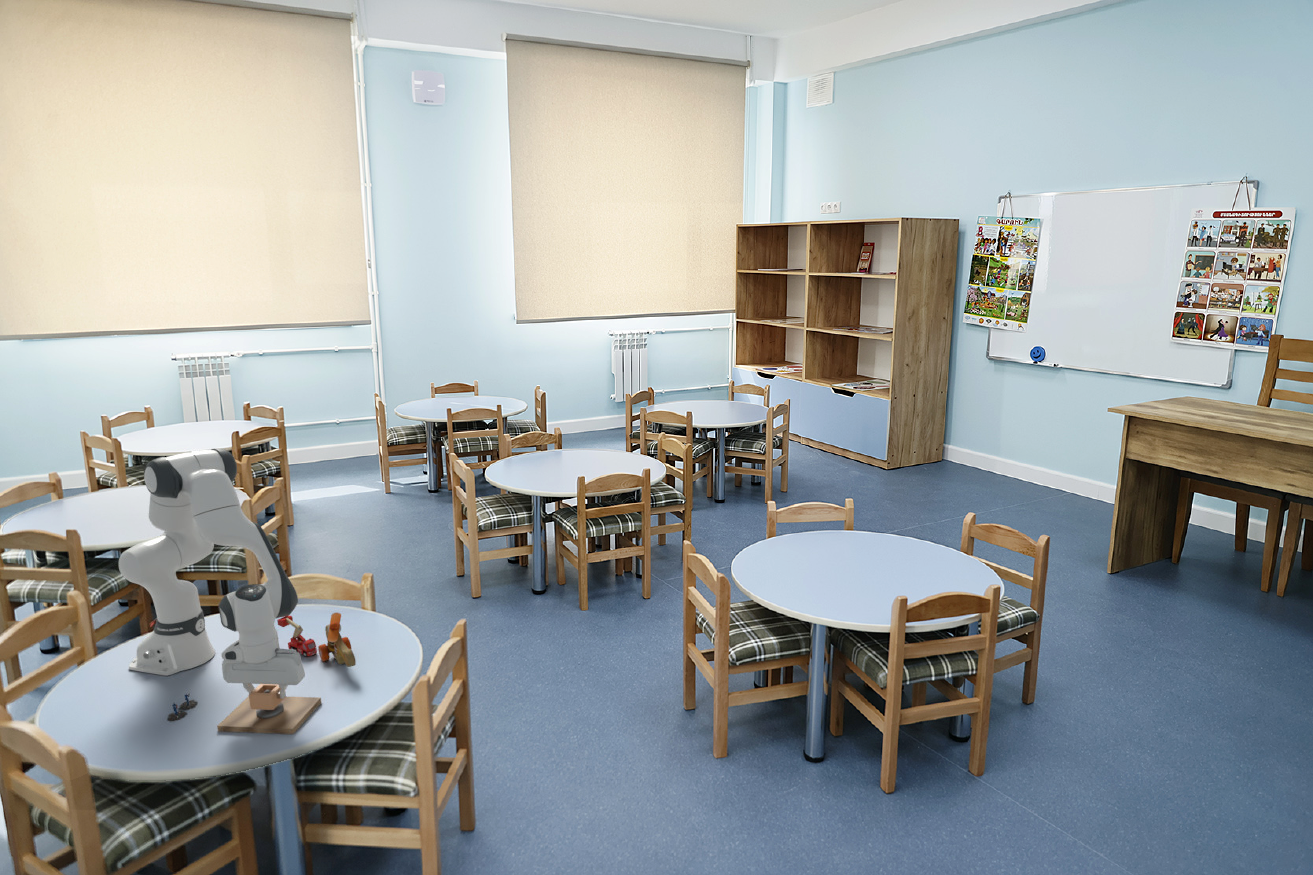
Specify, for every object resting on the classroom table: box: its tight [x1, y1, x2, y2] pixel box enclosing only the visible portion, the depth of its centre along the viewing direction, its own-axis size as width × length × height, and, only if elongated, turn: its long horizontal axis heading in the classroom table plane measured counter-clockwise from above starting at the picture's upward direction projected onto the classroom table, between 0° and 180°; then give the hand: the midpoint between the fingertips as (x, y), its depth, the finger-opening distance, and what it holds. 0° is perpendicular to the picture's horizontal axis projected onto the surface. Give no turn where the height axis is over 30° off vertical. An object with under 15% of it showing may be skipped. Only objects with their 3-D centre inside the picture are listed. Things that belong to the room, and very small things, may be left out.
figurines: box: [166, 692, 198, 723], centre depth 214 cm, size 10×5×4 cm, turn 176°
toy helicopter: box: [317, 612, 357, 668], centre depth 234 cm, size 8×21×14 cm, turn 38°
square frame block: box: [248, 684, 287, 710], centre depth 209 cm, size 6×6×4 cm
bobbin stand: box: [216, 690, 322, 735], centre depth 210 cm, size 20×14×8 cm
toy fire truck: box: [277, 615, 318, 657], centre depth 244 cm, size 3×14×10 cm, turn 58°
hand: (267, 697), depth 210 cm, fingers closed on square frame block, 6 cm apart
